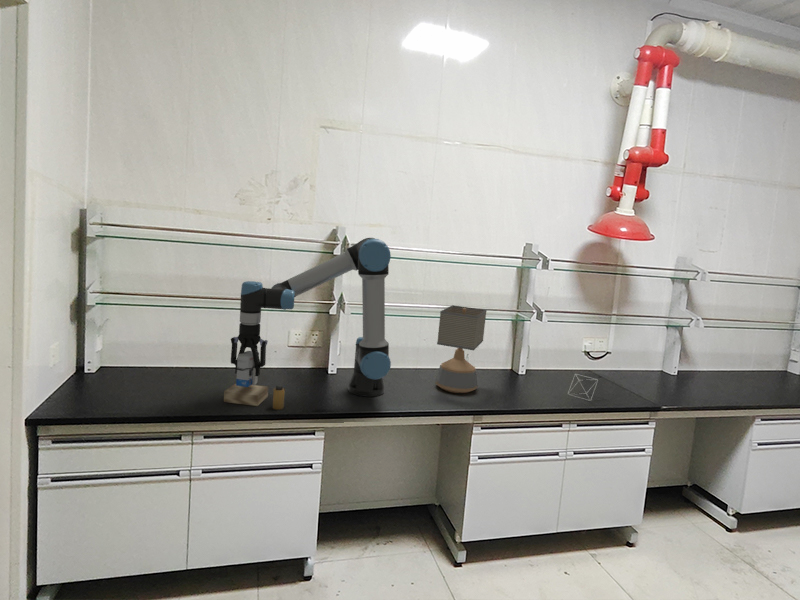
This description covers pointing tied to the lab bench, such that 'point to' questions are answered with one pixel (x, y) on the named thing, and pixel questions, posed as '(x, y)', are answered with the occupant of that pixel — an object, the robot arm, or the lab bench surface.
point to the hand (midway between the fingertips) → (247, 382)
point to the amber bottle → (278, 397)
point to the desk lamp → (459, 346)
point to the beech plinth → (246, 394)
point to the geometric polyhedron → (582, 386)
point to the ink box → (245, 369)
